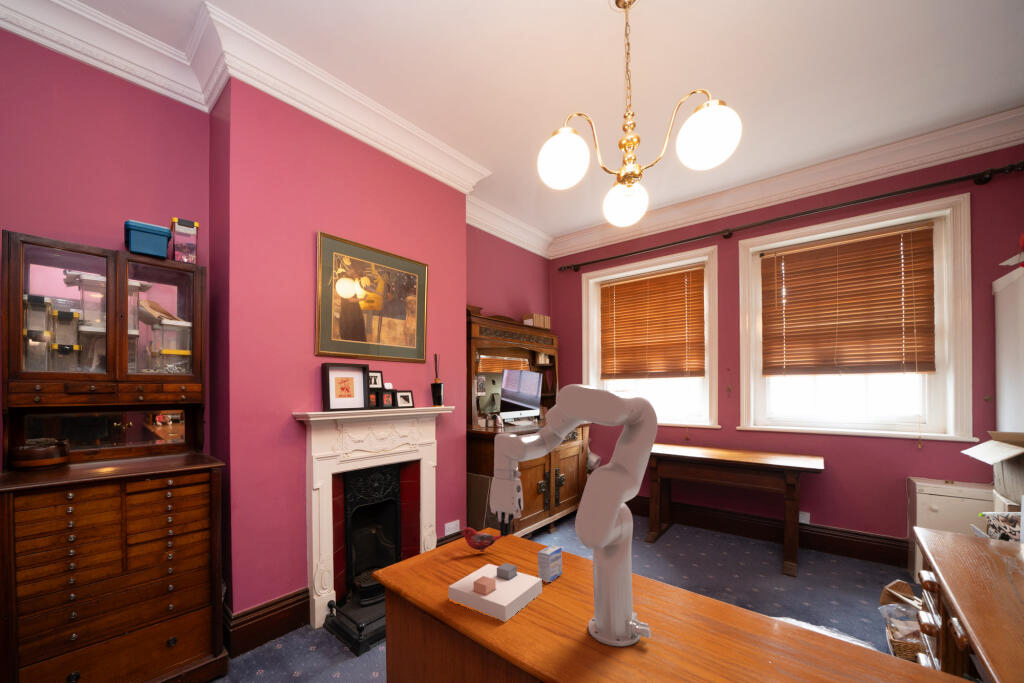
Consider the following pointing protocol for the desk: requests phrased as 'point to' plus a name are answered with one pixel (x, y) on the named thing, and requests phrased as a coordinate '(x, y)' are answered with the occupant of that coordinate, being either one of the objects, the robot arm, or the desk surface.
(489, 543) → the decorative bird figurine
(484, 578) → the terracotta key
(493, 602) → the key console
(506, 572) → the grey key
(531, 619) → the desk surface
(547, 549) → the medicine box
